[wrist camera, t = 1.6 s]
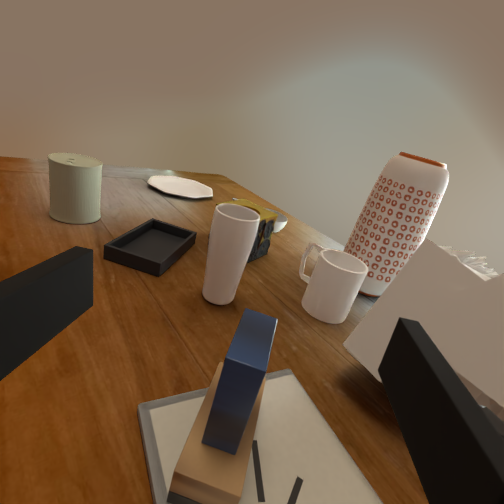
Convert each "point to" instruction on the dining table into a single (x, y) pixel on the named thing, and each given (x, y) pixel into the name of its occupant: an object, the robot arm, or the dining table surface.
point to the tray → (150, 246)
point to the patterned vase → (396, 218)
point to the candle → (259, 228)
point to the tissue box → (443, 318)
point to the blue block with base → (226, 420)
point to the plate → (180, 187)
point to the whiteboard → (262, 448)
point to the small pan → (279, 222)
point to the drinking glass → (228, 251)
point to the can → (74, 188)
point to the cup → (332, 284)
